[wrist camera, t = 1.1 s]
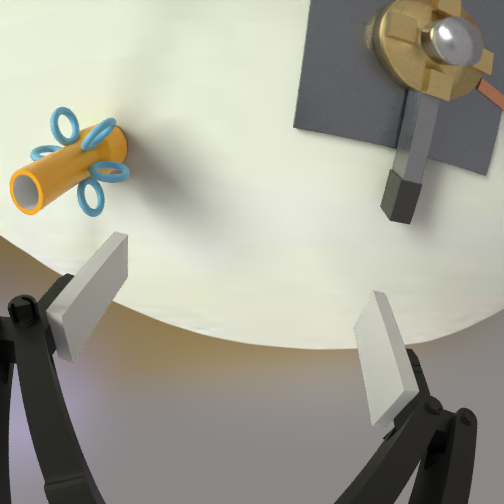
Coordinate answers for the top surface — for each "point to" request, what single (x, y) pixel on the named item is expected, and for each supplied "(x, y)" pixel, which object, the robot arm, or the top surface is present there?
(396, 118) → the flat plate
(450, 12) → the brass knob with lugs
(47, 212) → the top surface
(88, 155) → the cylinder
